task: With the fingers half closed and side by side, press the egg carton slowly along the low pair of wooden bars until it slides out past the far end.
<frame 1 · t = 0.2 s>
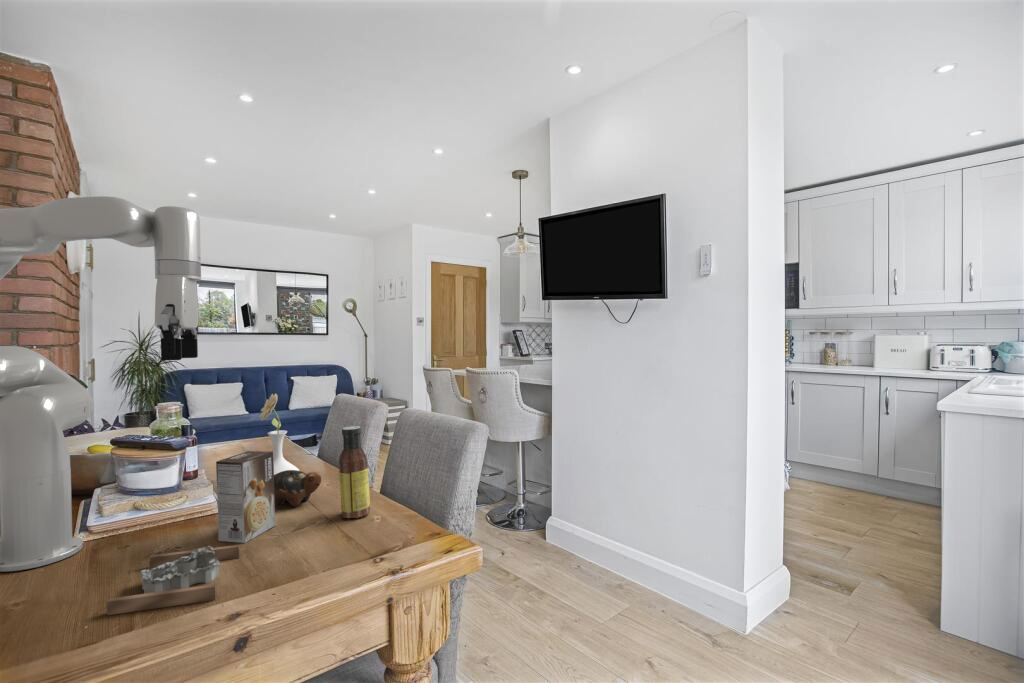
hand: (180, 359, 98), 36 cm above the table, tool pointing down, fingers open, 9 cm apart
flower in vase: (277, 482, 137), on the table
egg carton: (181, 584, 82), on the table
decorative turtle: (291, 504, 120), on the table
pair of wooden bars: (181, 581, 82), on the table
sauce bottle: (355, 515, 112), on the table
coffee box: (247, 534, 102), on the table
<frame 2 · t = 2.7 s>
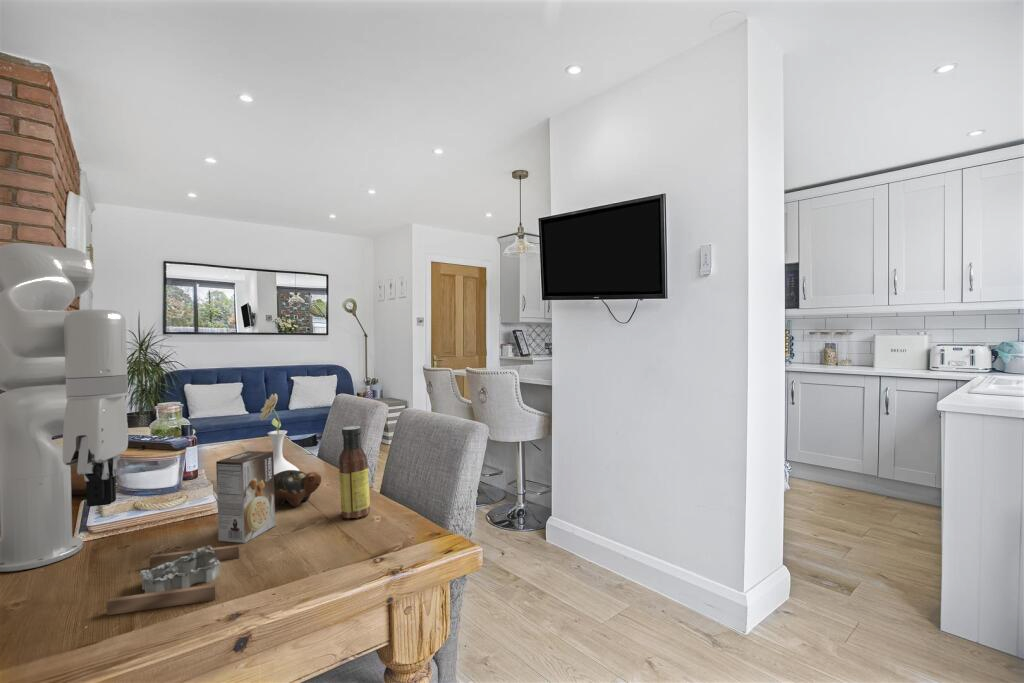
hand: (101, 503, 78), 14 cm above the table, tool pointing down, fingers closed
nothing on the table moved.
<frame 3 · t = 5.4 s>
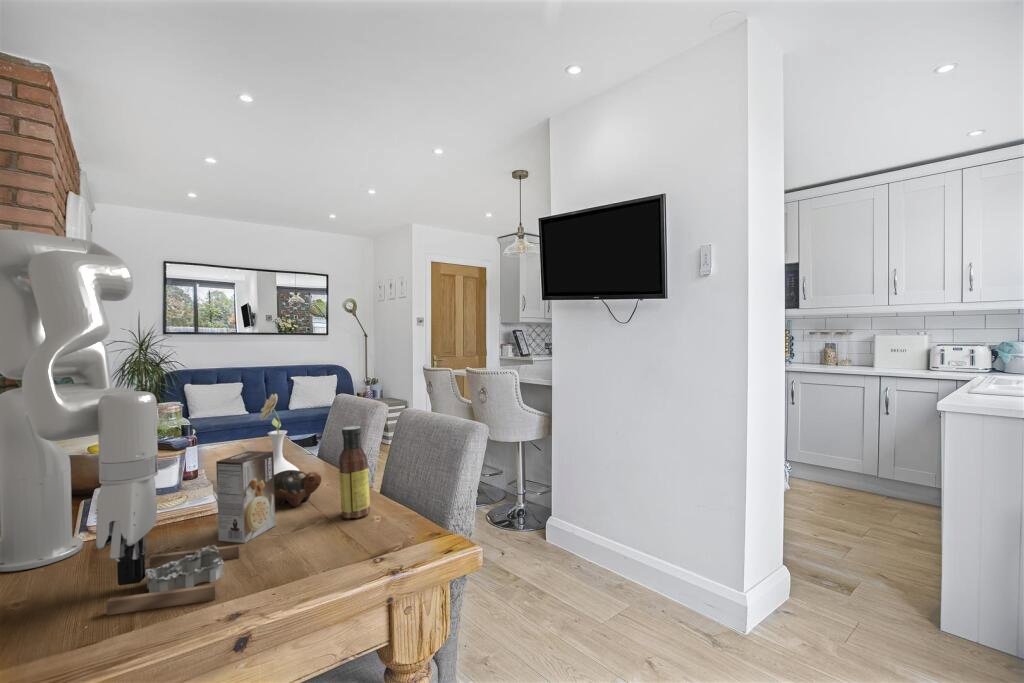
hand: (131, 581, 80), 1 cm above the table, tool pointing down, fingers closed
nothing on the table moved.
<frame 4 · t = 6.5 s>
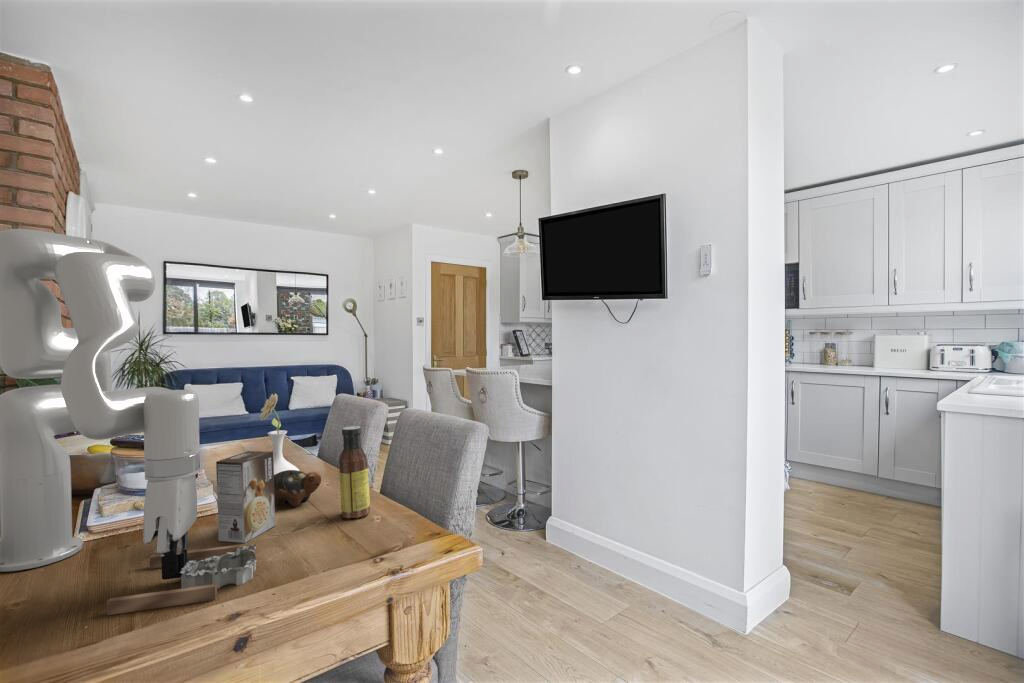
hand: (174, 576, 82), 1 cm above the table, tool pointing down, fingers closed
egg carton: (220, 581, 83), on the table, touching gripper
everything else where it was.
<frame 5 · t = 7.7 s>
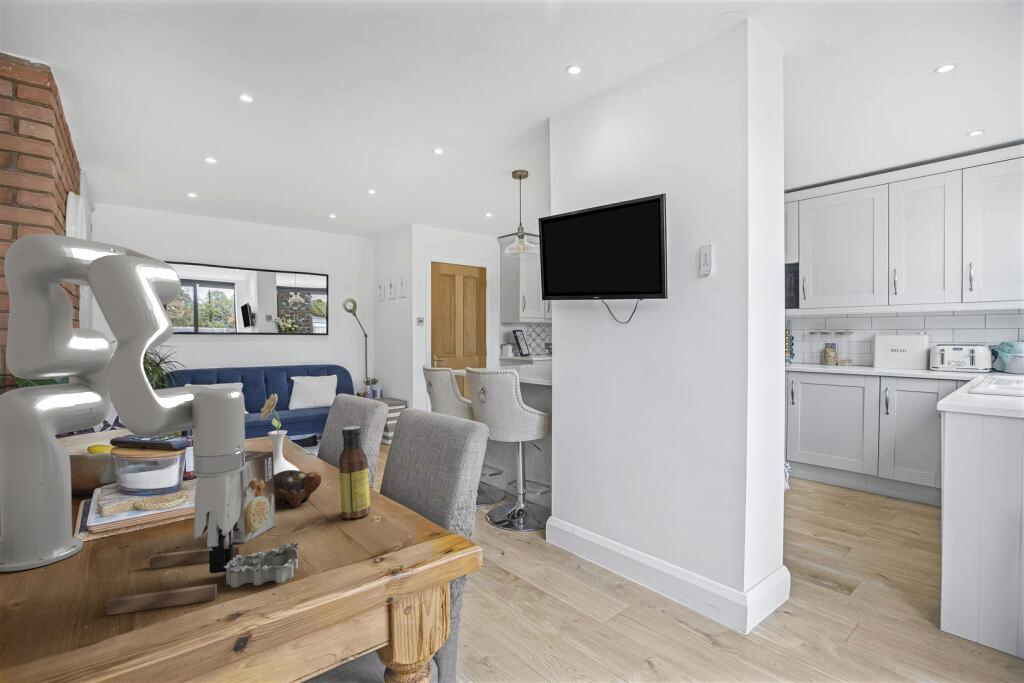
hand: (221, 570, 84), 1 cm above the table, tool pointing down, fingers closed
egg carton: (263, 577, 84), on the table
everything else where it was.
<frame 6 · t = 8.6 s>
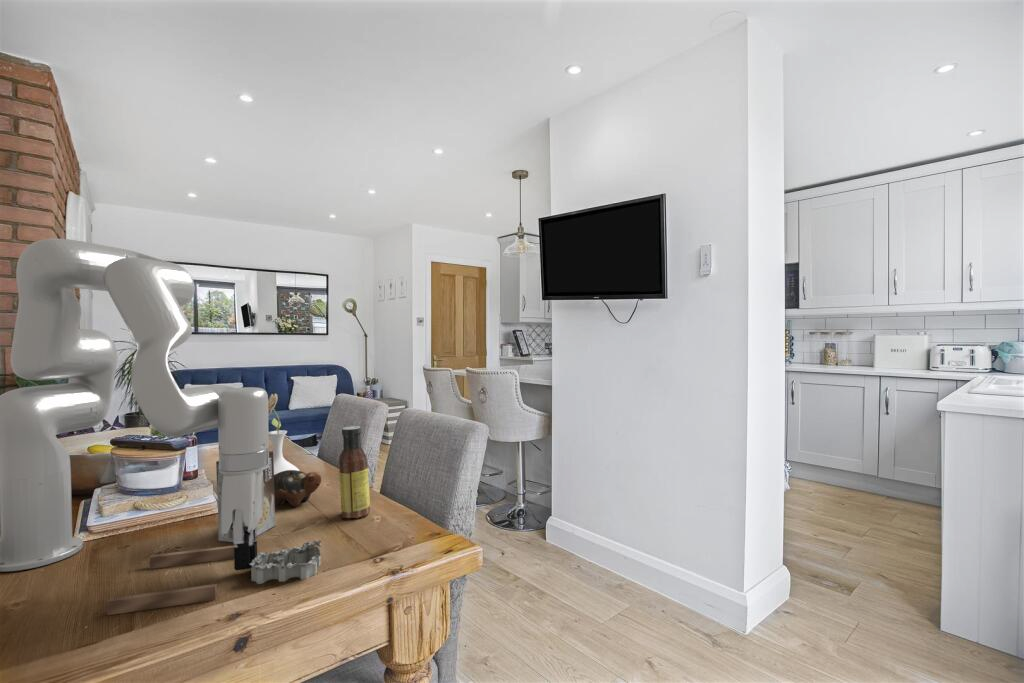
hand: (246, 567, 85), 1 cm above the table, tool pointing down, fingers closed
egg carton: (287, 574, 85), on the table, touching gripper
everything else where it was.
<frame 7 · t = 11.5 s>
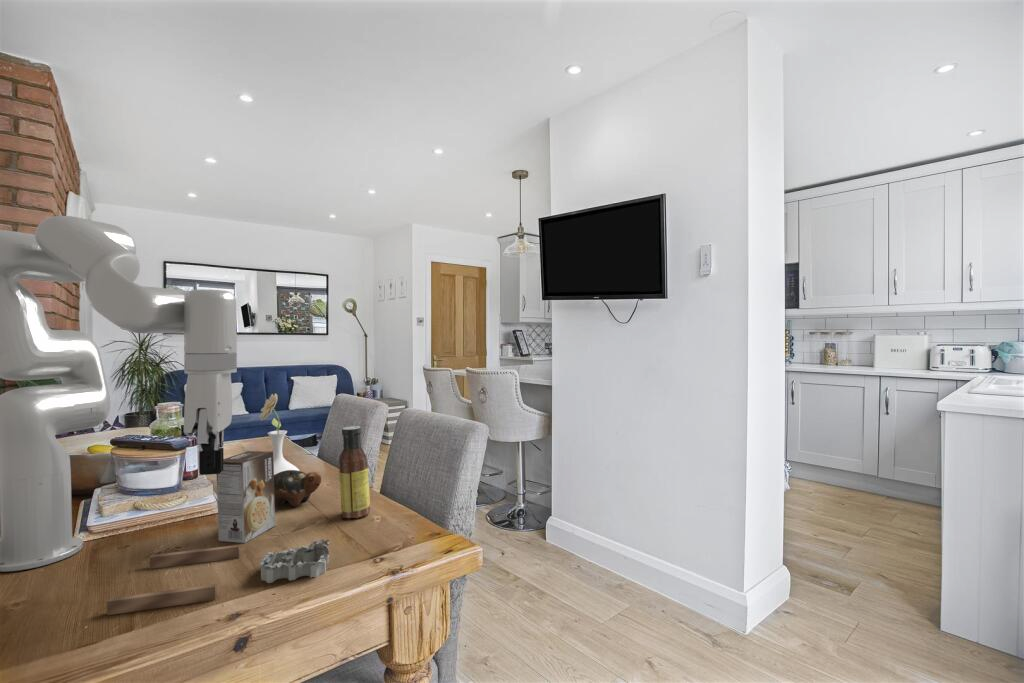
hand: (211, 472, 83), 18 cm above the table, tool pointing down, fingers closed
egg carton: (295, 573, 86), on the table
everything else where it was.
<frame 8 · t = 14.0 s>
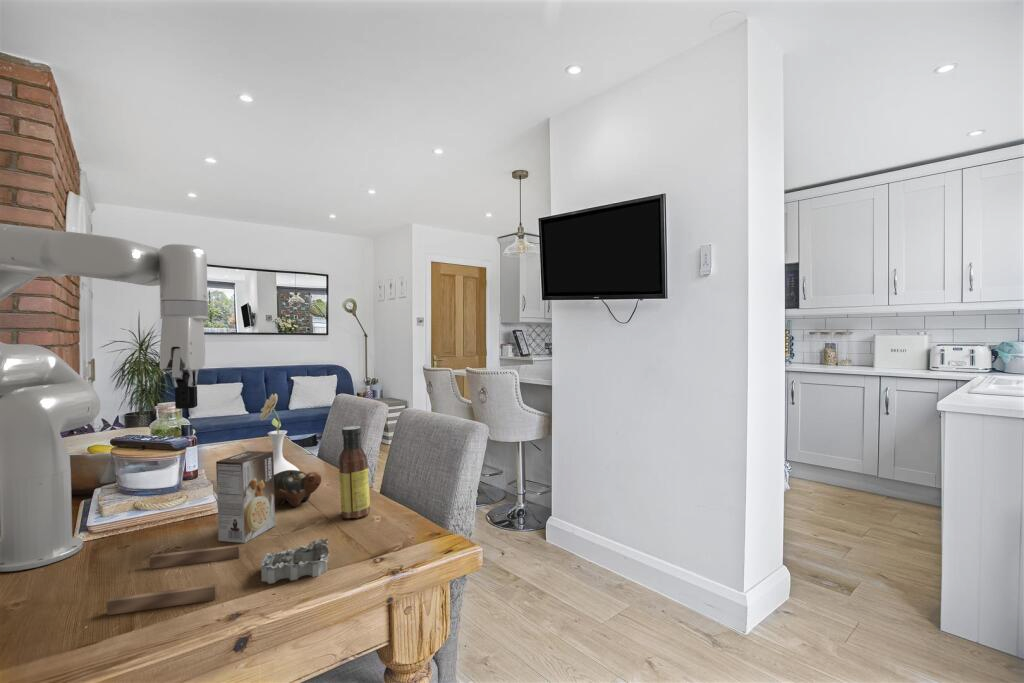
hand: (186, 407, 94), 27 cm above the table, tool pointing down, fingers closed
nothing on the table moved.
at the end: egg carton inside the target area (1.9 cm from its centre), on the table; egg carton moved 17.8 cm from its start; egg carton tilted 0° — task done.
